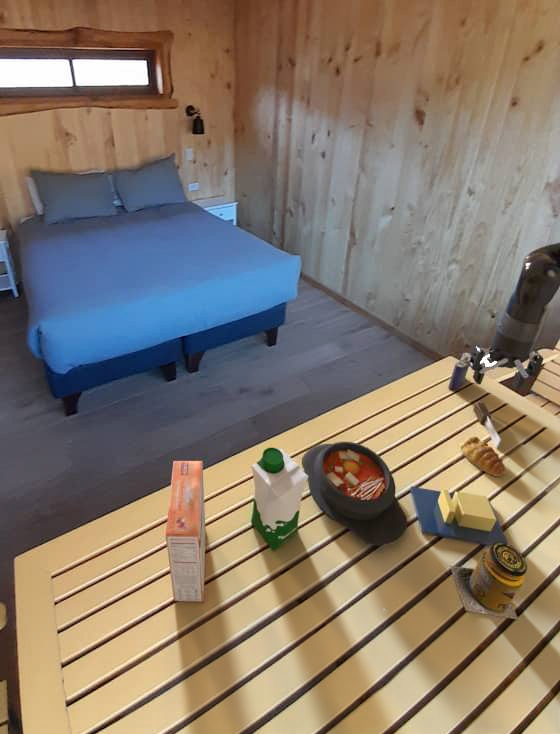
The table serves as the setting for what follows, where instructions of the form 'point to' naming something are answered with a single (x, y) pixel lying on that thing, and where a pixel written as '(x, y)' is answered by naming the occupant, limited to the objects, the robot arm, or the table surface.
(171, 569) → the cracker box
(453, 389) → the flask
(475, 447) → the pastry
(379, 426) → the table surface
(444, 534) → the butter dish
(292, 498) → the milk carton
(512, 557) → the condiment
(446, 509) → the butter pat
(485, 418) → the knife
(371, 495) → the casserole
